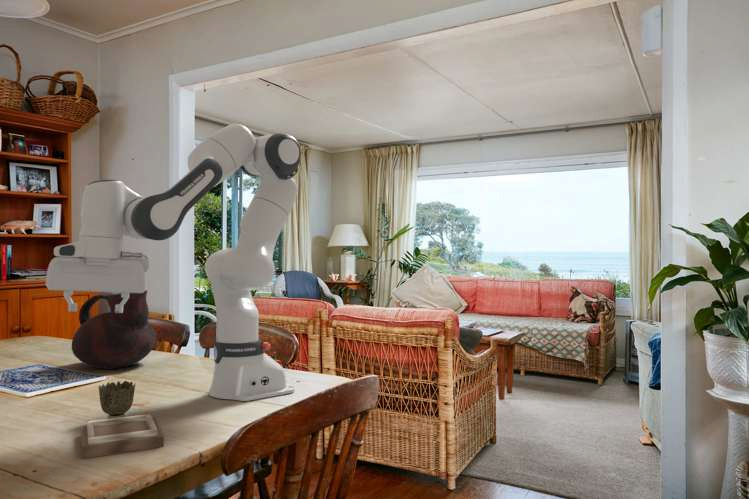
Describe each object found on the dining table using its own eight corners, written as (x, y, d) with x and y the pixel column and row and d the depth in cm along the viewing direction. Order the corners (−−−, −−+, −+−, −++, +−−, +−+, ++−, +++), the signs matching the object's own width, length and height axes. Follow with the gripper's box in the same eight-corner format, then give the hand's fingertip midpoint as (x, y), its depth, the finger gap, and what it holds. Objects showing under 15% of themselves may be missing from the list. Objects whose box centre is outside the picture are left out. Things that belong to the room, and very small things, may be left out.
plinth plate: (154, 425, 118) (154, 412, 118) (163, 446, 106) (163, 431, 106) (81, 435, 112) (81, 420, 112) (81, 458, 99) (82, 442, 99)
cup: (93, 419, 122) (93, 384, 122) (127, 413, 127) (127, 379, 127) (104, 427, 117) (105, 390, 117) (139, 420, 122) (140, 384, 122)
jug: (112, 356, 195) (113, 286, 195) (171, 361, 187) (172, 289, 188) (51, 370, 172) (53, 290, 172) (115, 376, 164) (117, 293, 164)
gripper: (151, 253, 128) (147, 312, 128) (54, 248, 123) (50, 309, 122) (147, 252, 122) (143, 314, 122) (45, 247, 117) (40, 312, 116)
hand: (95, 312), depth 122 cm, fingers open, 8 cm apart
